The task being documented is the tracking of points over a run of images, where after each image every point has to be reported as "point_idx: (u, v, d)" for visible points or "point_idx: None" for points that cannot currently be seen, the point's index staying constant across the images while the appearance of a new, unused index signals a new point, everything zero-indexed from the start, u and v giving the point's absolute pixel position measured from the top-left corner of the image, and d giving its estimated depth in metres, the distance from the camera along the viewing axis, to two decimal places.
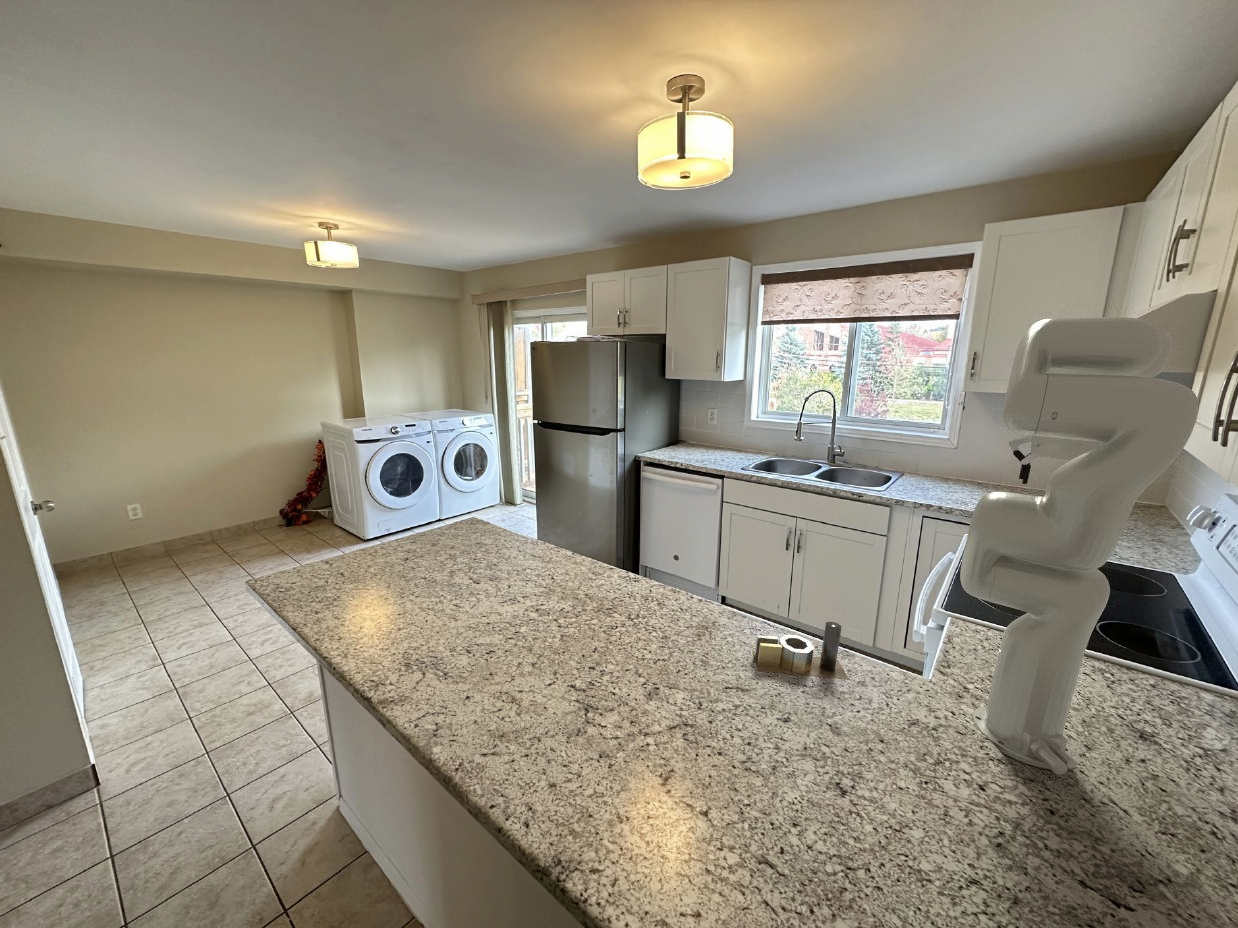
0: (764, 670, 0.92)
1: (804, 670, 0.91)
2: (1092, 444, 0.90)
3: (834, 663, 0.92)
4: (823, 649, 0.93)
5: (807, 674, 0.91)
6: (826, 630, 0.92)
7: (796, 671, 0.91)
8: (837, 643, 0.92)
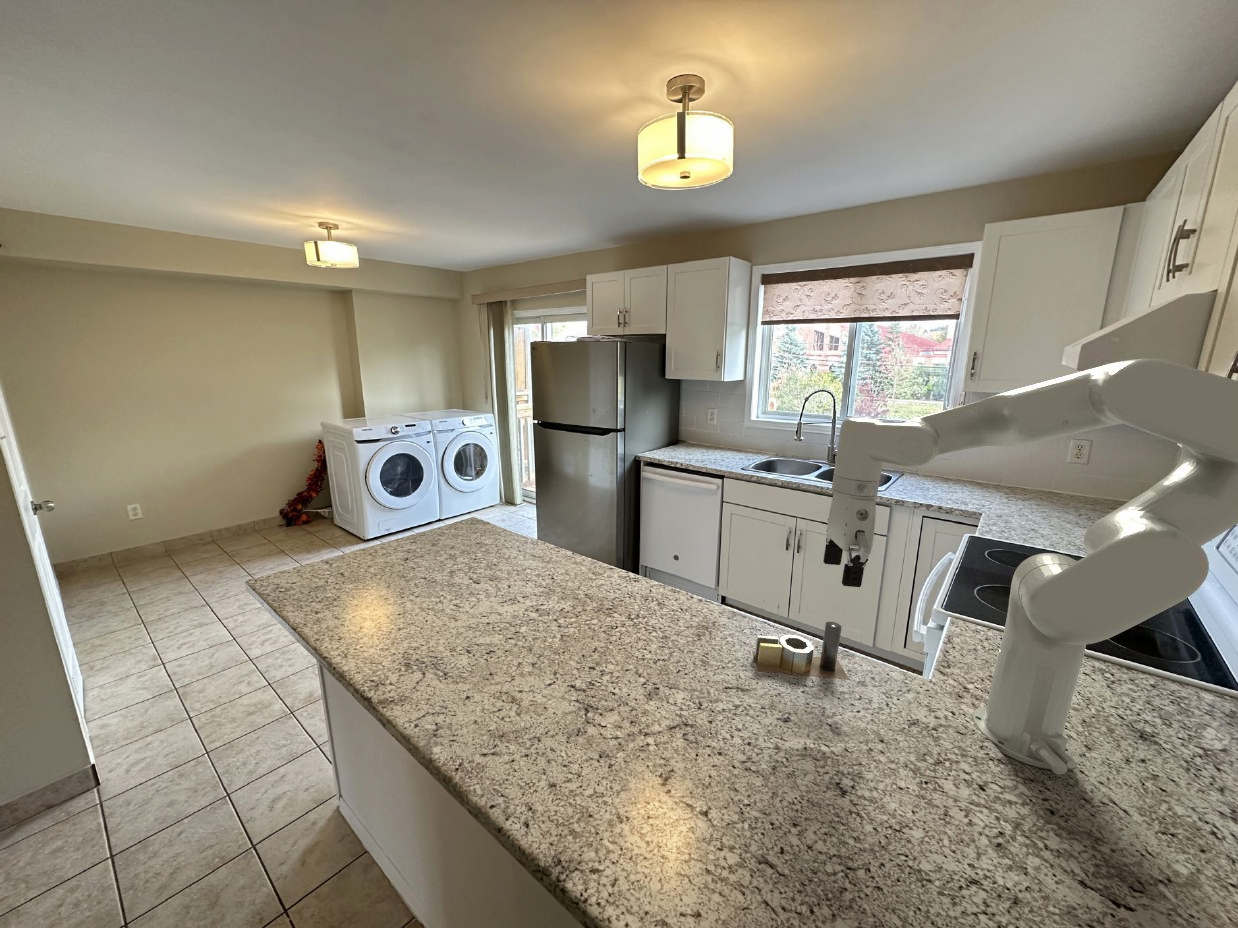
0: (764, 670, 0.92)
1: (804, 670, 0.91)
2: None
3: (834, 663, 0.92)
4: (823, 649, 0.93)
5: (807, 674, 0.91)
6: (826, 630, 0.92)
7: (796, 671, 0.91)
8: (837, 643, 0.92)
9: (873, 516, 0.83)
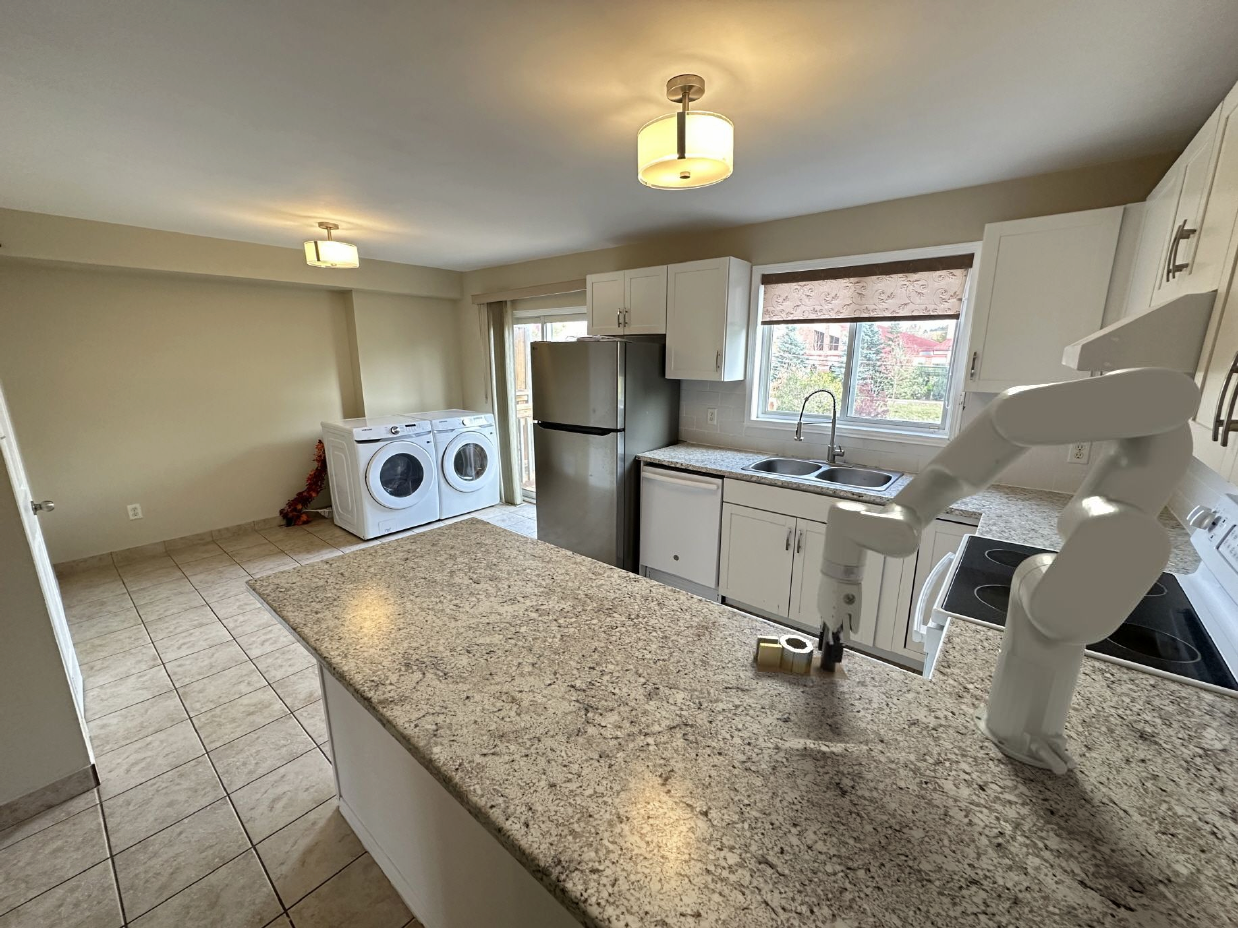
0: (764, 670, 0.92)
1: (804, 670, 0.91)
2: None
3: (834, 663, 0.92)
4: (823, 649, 0.93)
5: (807, 674, 0.91)
6: (826, 630, 0.92)
7: (796, 671, 0.91)
8: None
9: (860, 600, 0.86)
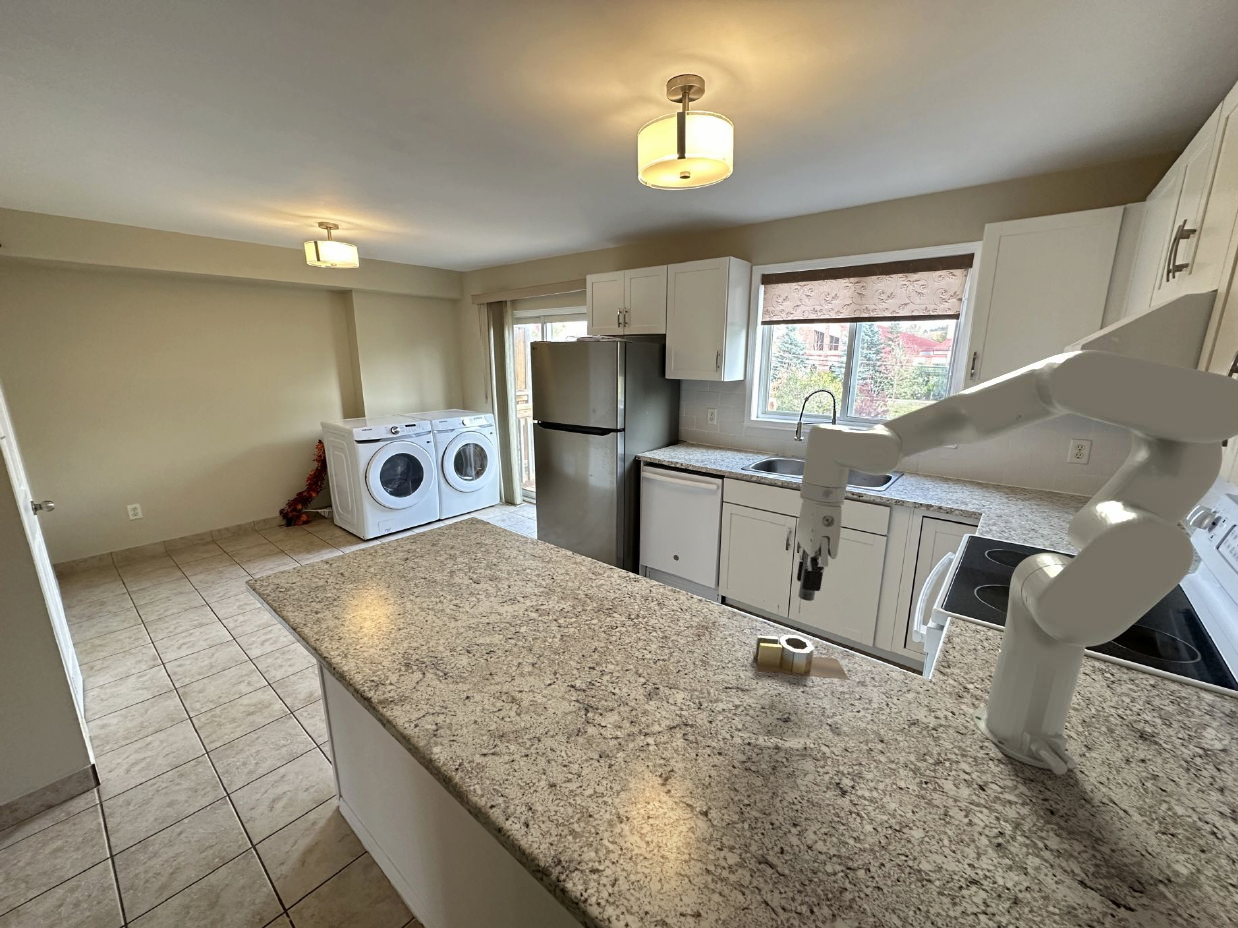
0: (764, 670, 0.92)
1: (804, 670, 0.91)
2: None
3: (813, 592, 0.90)
4: (802, 578, 0.91)
5: (807, 674, 0.91)
6: (805, 558, 0.90)
7: (796, 671, 0.91)
8: None
9: (839, 522, 0.84)
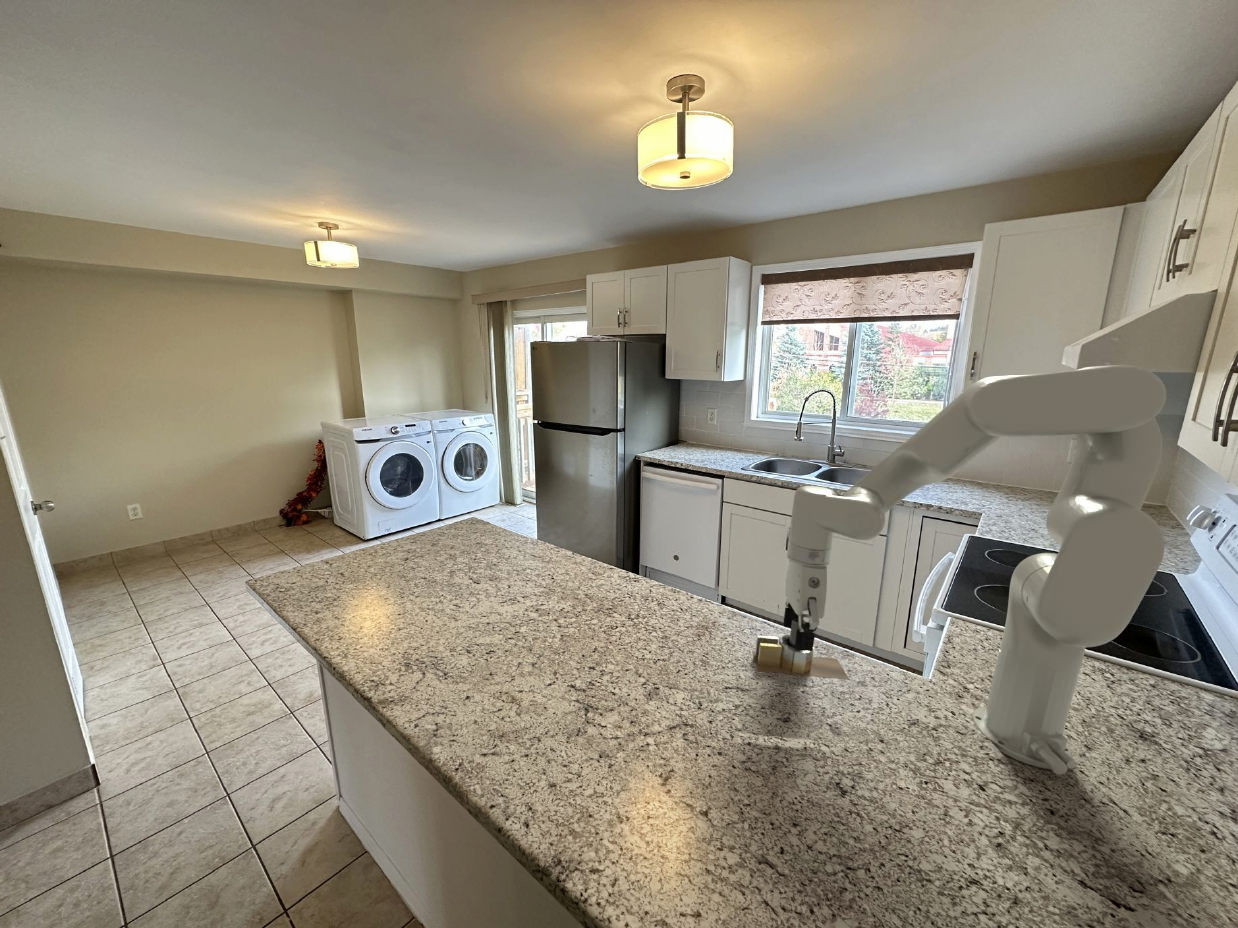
0: (764, 670, 0.92)
1: (804, 670, 0.91)
2: None
3: None
4: None
5: (807, 674, 0.91)
6: (792, 627, 0.93)
7: (796, 671, 0.91)
8: None
9: (824, 584, 0.86)
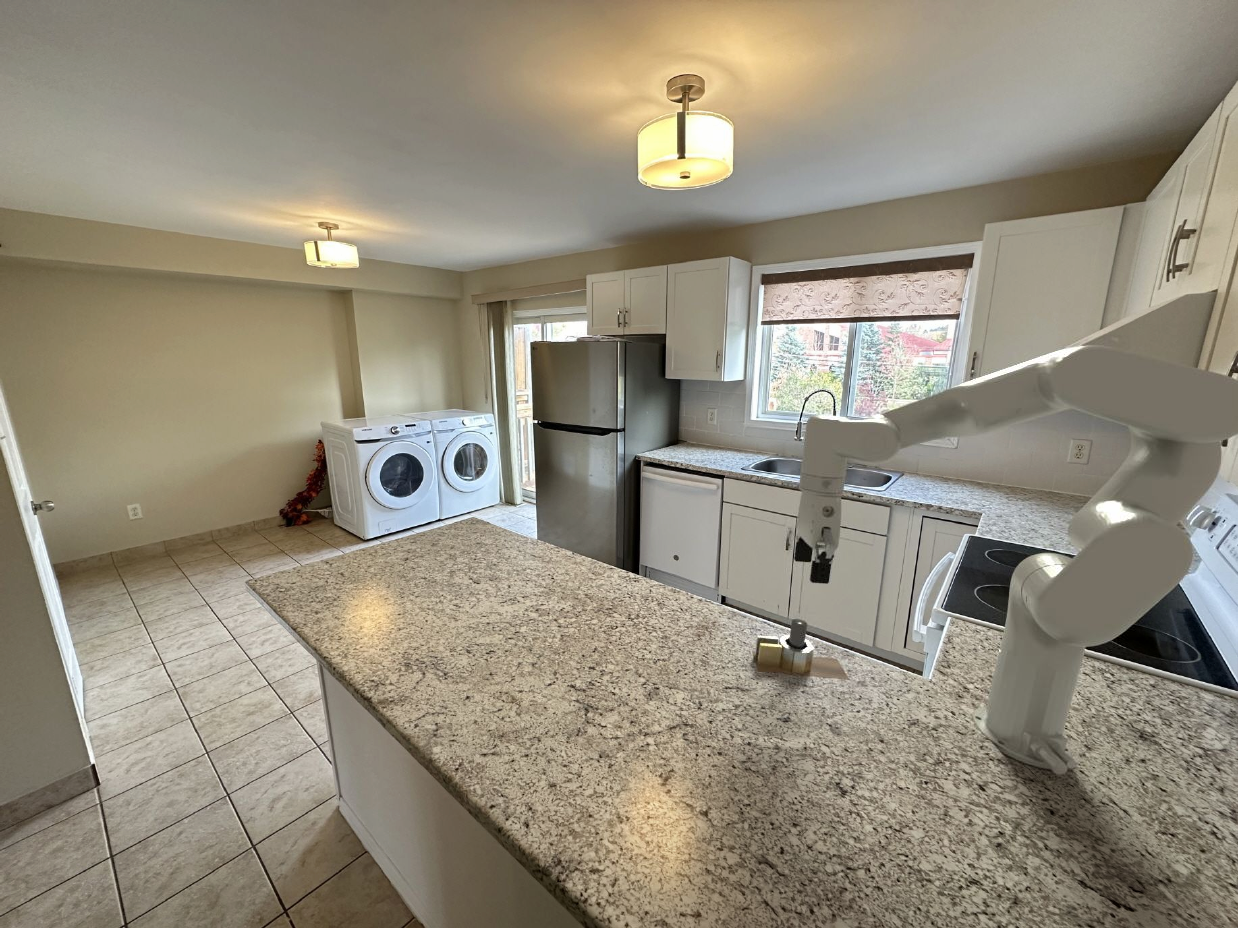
0: (764, 670, 0.92)
1: (804, 670, 0.91)
2: None
3: None
4: None
5: (807, 674, 0.91)
6: (792, 627, 0.92)
7: (796, 671, 0.91)
8: (803, 640, 0.92)
9: (839, 512, 0.83)
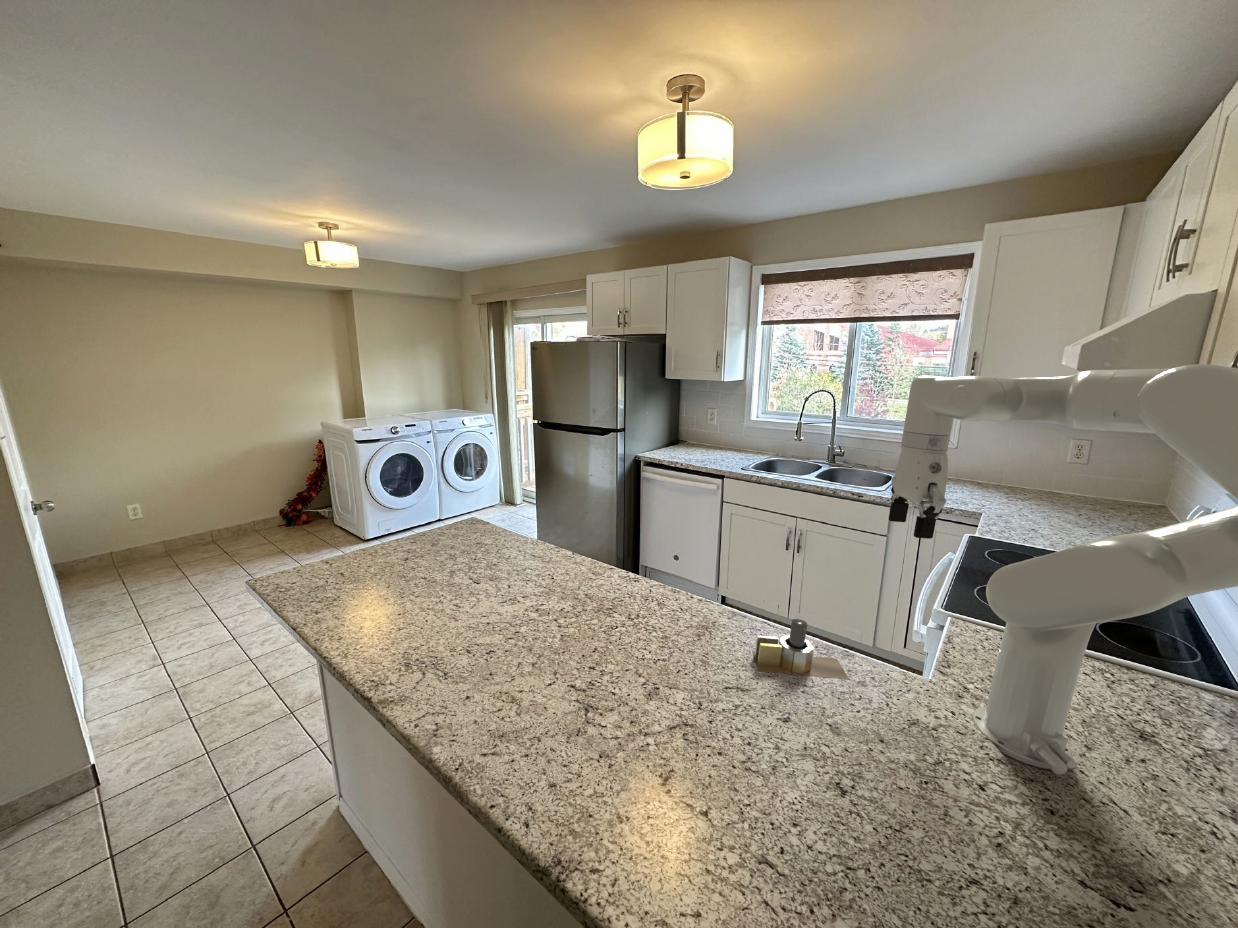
0: (764, 670, 0.92)
1: (804, 670, 0.91)
2: None
3: None
4: None
5: (807, 674, 0.91)
6: (792, 627, 0.92)
7: (796, 671, 0.91)
8: (803, 640, 0.92)
9: (945, 469, 0.86)
